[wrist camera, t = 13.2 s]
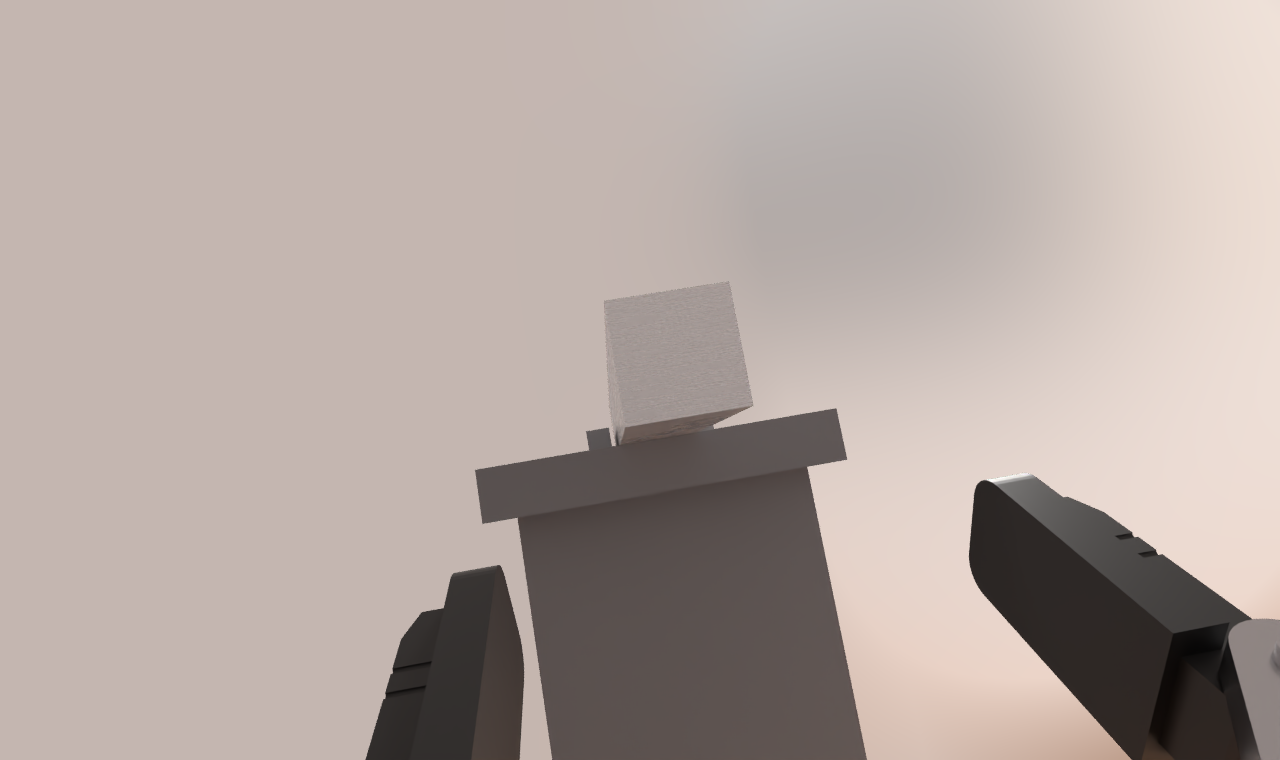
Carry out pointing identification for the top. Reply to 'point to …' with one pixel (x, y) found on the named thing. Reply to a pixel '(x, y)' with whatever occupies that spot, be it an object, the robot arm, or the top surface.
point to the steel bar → (673, 362)
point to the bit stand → (684, 595)
